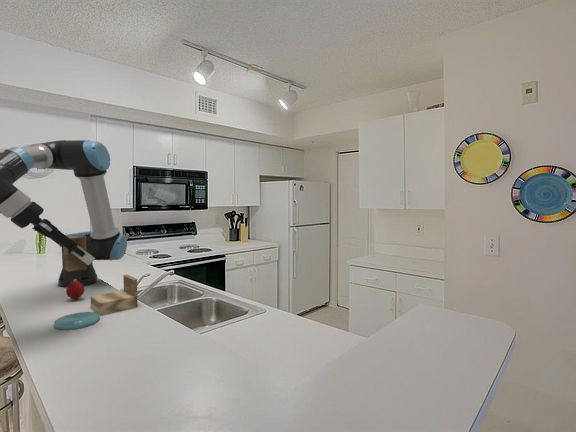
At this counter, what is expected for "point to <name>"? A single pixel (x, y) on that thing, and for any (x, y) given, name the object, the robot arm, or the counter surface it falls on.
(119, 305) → the ledge
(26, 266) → the counter surface
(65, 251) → the block
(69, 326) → the teal flattened ellipsoid
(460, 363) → the counter surface
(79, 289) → the onion
